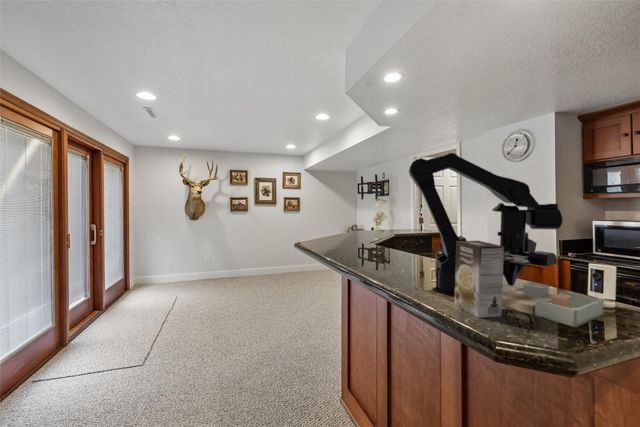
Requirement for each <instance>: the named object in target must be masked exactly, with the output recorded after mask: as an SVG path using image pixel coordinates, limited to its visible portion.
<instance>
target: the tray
mask: <svg viewBox="0 0 640 427" xmlns="http://www.w3.org/2000/svg"><path fill="white" fill-rule="evenodd" d="M562 294H565V295H569V296H572V309H571V308H567V307H563V306H559V305H555V304H552V302H550V303H547V302H544V301H540V300H535V314H534V316H536V317H539V316H540V317H539V318H542V317H544V319H546V318H547V319H546V320H549V321H553V322H556V323H559V324H563V325H566V326H569V327H573V328H578V327H580V326H582V325H584V324H587V323H589V322H591V321H593V320H595V319H597V318H599V317H601V316H603V315H604V302H605V300H604V299H602V298H597V297H592V296H588V295H584V294H579V293H575V292H569V291H564V290H563V291H562Z"/></svg>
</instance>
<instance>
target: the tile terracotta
mask: <svg viewBox="0 0 640 427" xmlns="http://www.w3.org/2000/svg"><path fill="white" fill-rule="evenodd" d="M552 304H555V305H559V306H563V307H567V308H571V309H572V296H569V295H565V294H563V293H556V294H553V296H552Z"/></svg>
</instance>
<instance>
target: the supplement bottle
mask: <svg viewBox="0 0 640 427" xmlns="http://www.w3.org/2000/svg"><path fill="white" fill-rule="evenodd" d="M438 249H439V250H436V252H435V263H434V264H435V265H434V268H435V269H434V276H435V278H436V268H440V267H439V266H438V264H437V261H436V260H437V259H438V258H439V257H440V256H441V255H443V254H444V251H443V246H442V241H440V242H439V244H438Z"/></svg>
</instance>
